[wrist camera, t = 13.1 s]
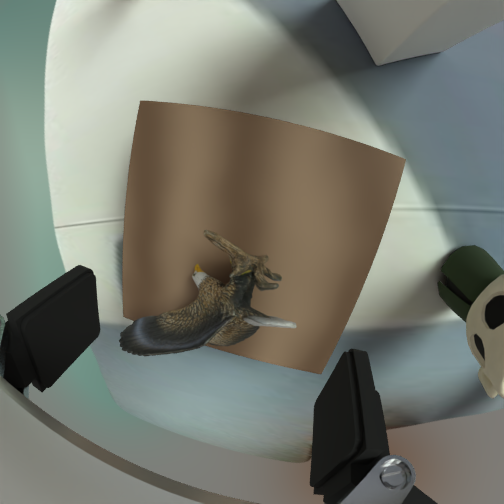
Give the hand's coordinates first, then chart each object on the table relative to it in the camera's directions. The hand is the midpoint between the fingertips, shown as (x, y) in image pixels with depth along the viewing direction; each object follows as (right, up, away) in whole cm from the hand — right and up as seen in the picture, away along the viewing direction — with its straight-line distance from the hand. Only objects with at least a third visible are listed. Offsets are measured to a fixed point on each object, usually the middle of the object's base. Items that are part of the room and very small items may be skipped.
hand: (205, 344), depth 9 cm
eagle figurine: (0, +1, +9) cm, 9 cm away
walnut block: (+2, +5, +13) cm, 15 cm away
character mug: (+21, +1, +12) cm, 24 cm away
